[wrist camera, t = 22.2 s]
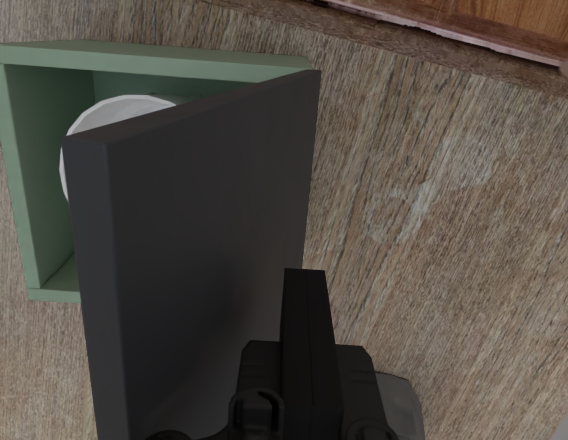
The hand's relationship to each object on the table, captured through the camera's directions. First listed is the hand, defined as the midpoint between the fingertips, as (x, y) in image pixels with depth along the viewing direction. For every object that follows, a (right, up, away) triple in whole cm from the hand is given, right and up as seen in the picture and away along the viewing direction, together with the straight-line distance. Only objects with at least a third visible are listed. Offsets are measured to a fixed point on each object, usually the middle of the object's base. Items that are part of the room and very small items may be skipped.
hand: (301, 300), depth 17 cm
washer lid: (-2, 0, +1) cm, 2 cm away
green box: (-8, +9, +20) cm, 23 cm away
